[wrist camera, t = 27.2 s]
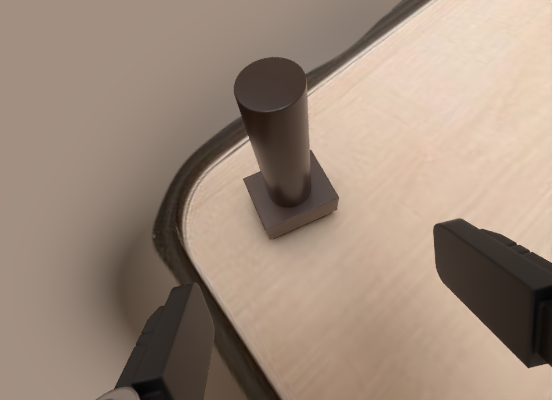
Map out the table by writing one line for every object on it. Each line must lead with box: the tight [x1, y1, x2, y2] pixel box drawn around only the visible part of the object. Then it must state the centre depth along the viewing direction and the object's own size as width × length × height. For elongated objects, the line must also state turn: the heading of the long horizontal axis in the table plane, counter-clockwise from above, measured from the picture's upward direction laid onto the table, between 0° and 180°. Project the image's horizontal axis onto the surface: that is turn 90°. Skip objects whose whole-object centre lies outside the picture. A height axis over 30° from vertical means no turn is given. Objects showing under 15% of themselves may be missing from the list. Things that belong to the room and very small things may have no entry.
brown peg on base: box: [234, 57, 339, 239], centre depth 17 cm, size 5×4×12 cm
